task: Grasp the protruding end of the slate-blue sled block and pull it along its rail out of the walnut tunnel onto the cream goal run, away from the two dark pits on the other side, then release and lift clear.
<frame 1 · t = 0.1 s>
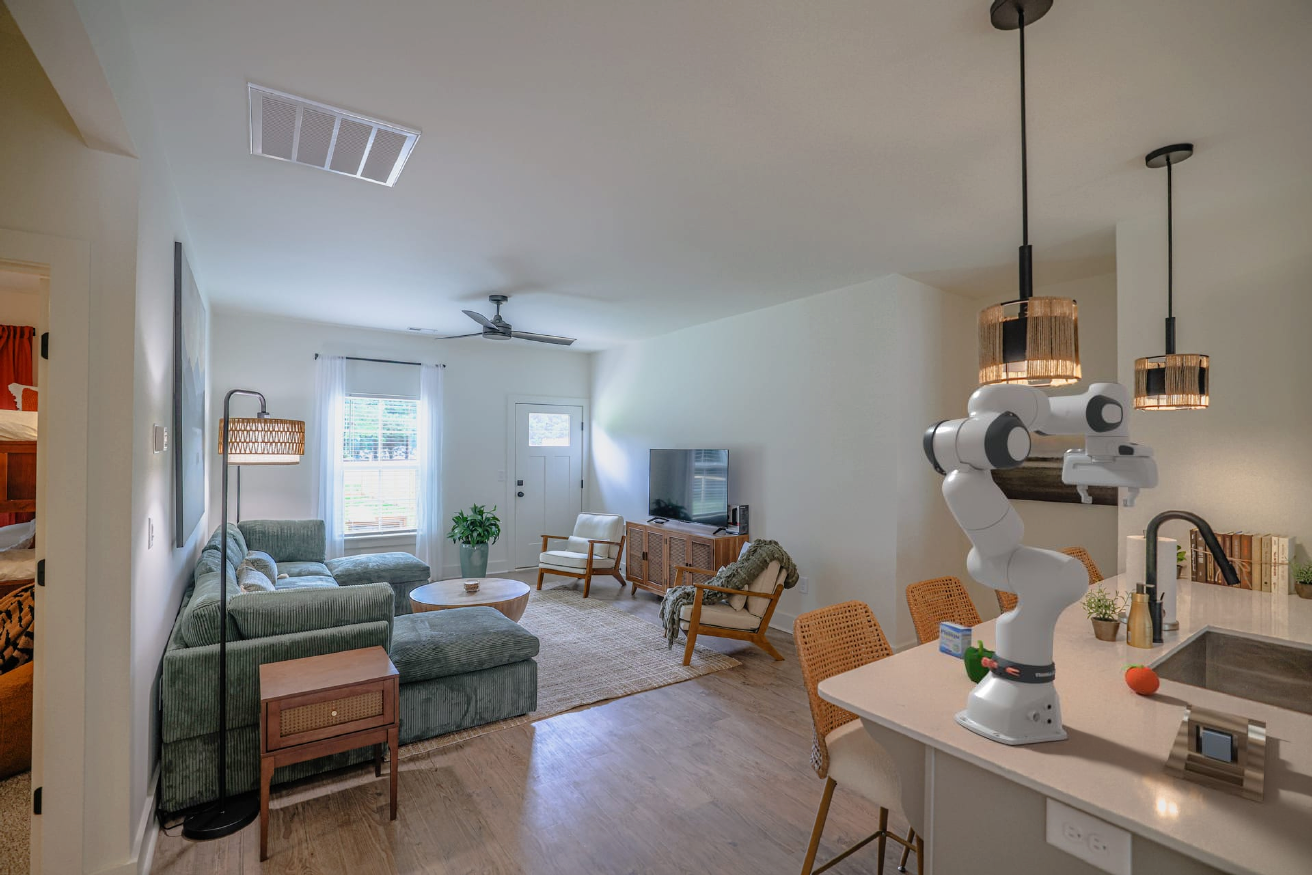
hand: (1107, 505, 150), 48 cm above the kitchen island, fingers open, 8 cm apart
bell pepper: (981, 681, 161), on the kitchen island
sled block: (1218, 733, 123), point 4 cm above the kitchen island, slide at 2.0 cm
medicine box: (955, 654, 183), on the kitchen island
tomato: (1139, 693, 155), on the kitchen island
tunnel deck: (1218, 757, 121), on the kitchen island
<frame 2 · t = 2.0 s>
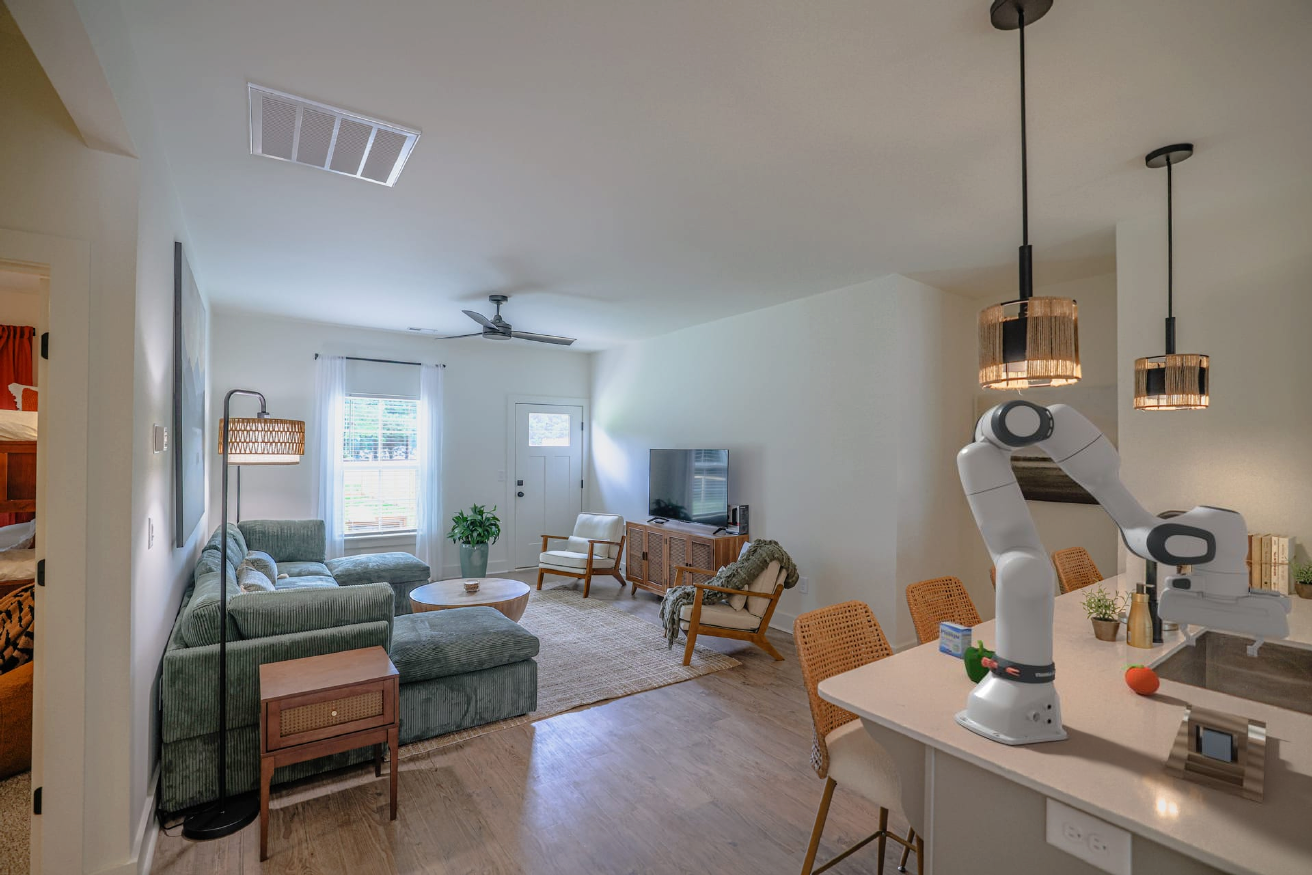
hand: (1220, 650, 128), 20 cm above the kitchen island, fingers open, 8 cm apart
nothing on the kitchen island moved.
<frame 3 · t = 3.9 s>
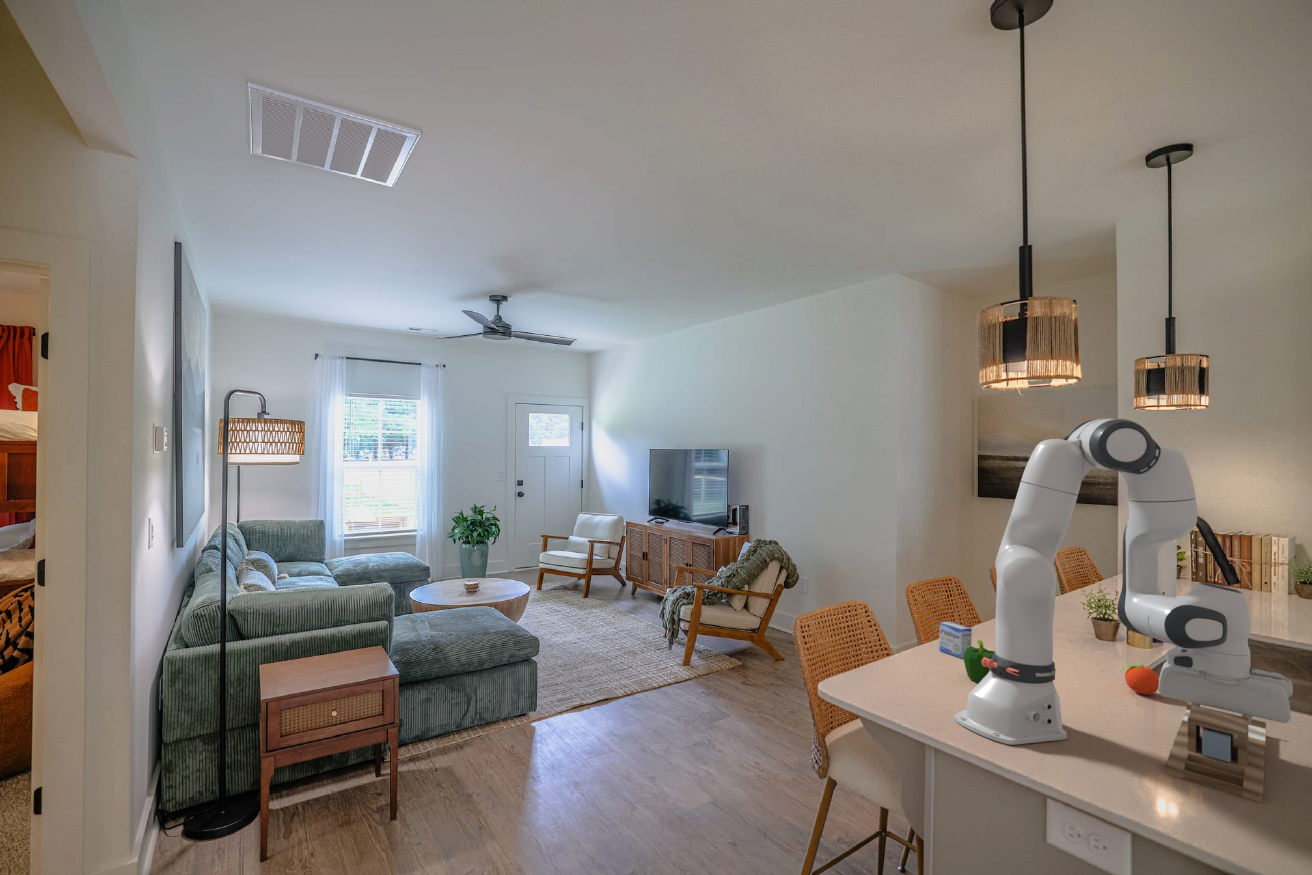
hand: (1220, 729, 127), 3 cm above the kitchen island, fingers closed on sled block, 4 cm apart
sled block: (1218, 733, 123), point 4 cm above the kitchen island, slide at 2.0 cm, touching gripper
everything else where it was.
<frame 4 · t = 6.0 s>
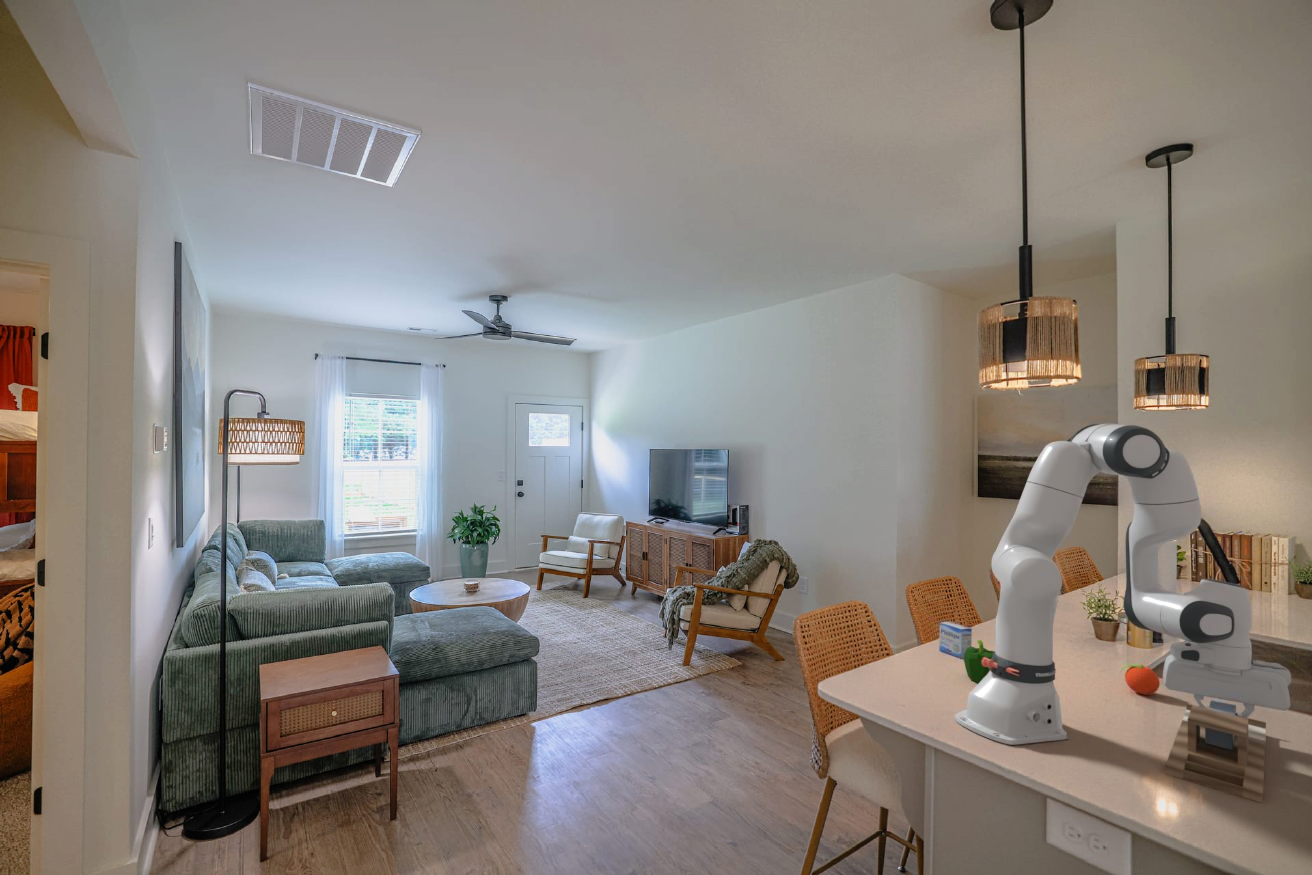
hand: (1223, 719, 132), 3 cm above the kitchen island, fingers closed on sled block, 4 cm apart
sled block: (1221, 723, 128), point 4 cm above the kitchen island, slide at 9.2 cm, touching gripper
everything else where it was.
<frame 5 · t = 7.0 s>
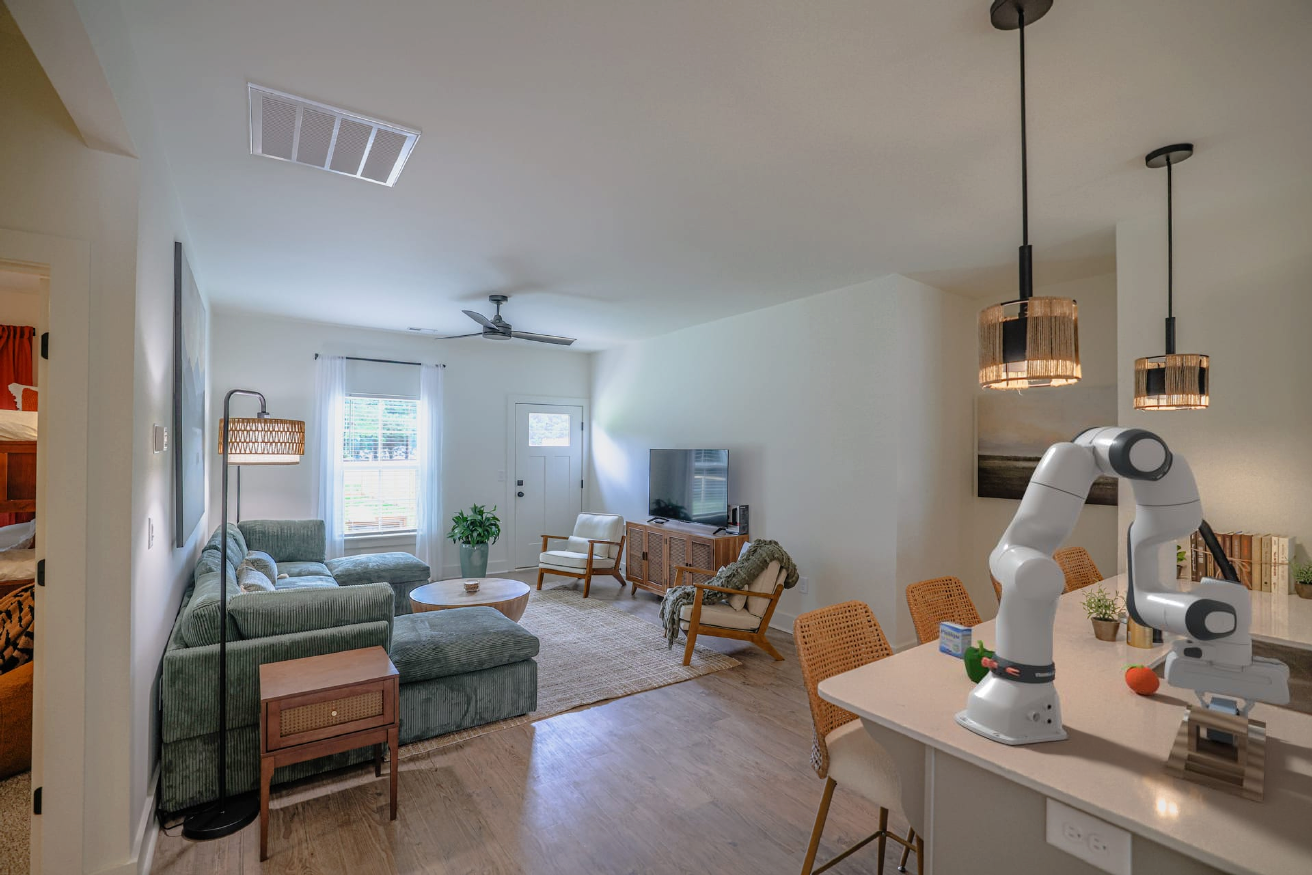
hand: (1223, 714, 135), 3 cm above the kitchen island, fingers closed on sled block, 5 cm apart
sled block: (1222, 718, 130), point 4 cm above the kitchen island, slide at 12.6 cm, touching gripper
everything else where it was.
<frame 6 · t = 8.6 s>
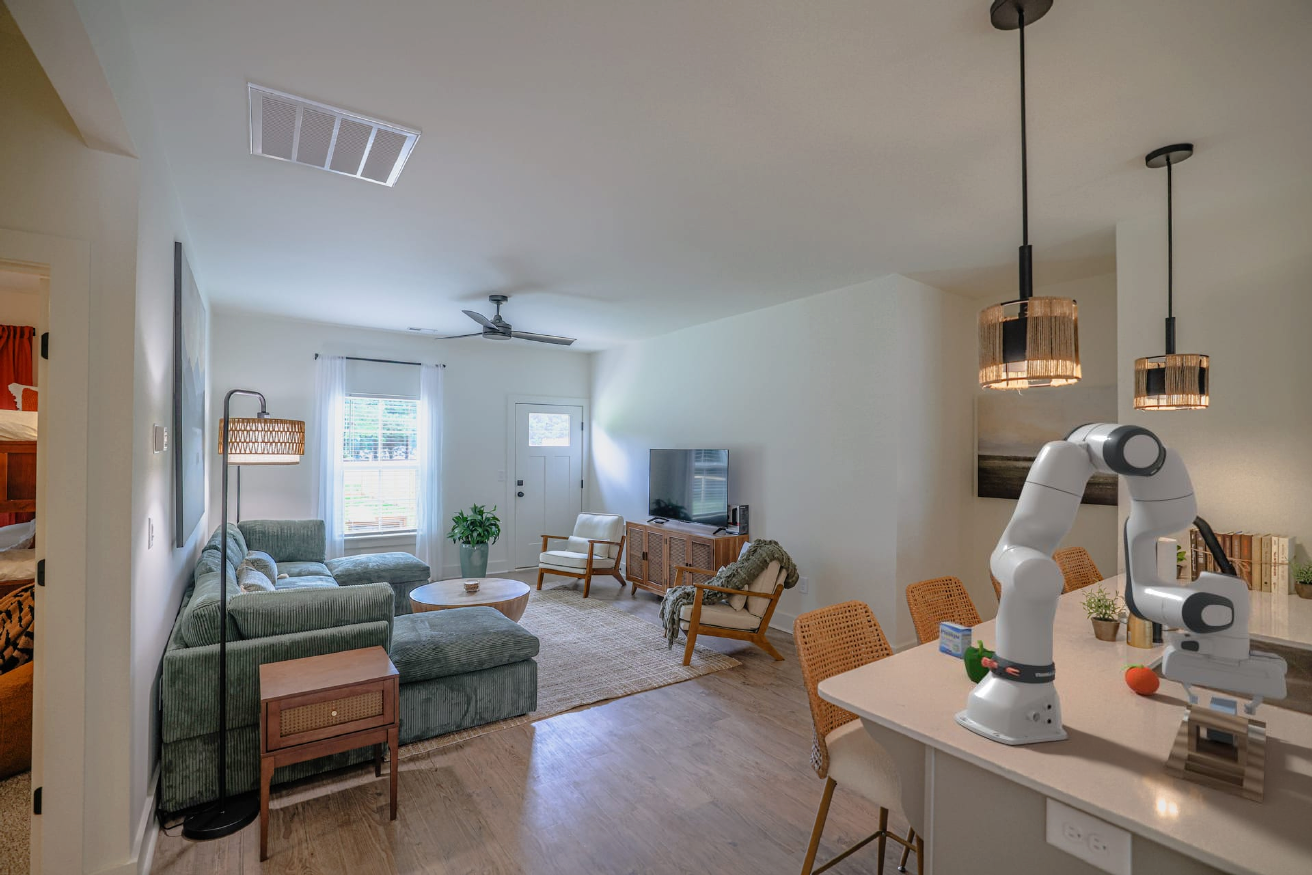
hand: (1220, 708, 135), 4 cm above the kitchen island, fingers open, 8 cm apart
sled block: (1222, 718, 130), point 4 cm above the kitchen island, slide at 12.6 cm
everything else where it was.
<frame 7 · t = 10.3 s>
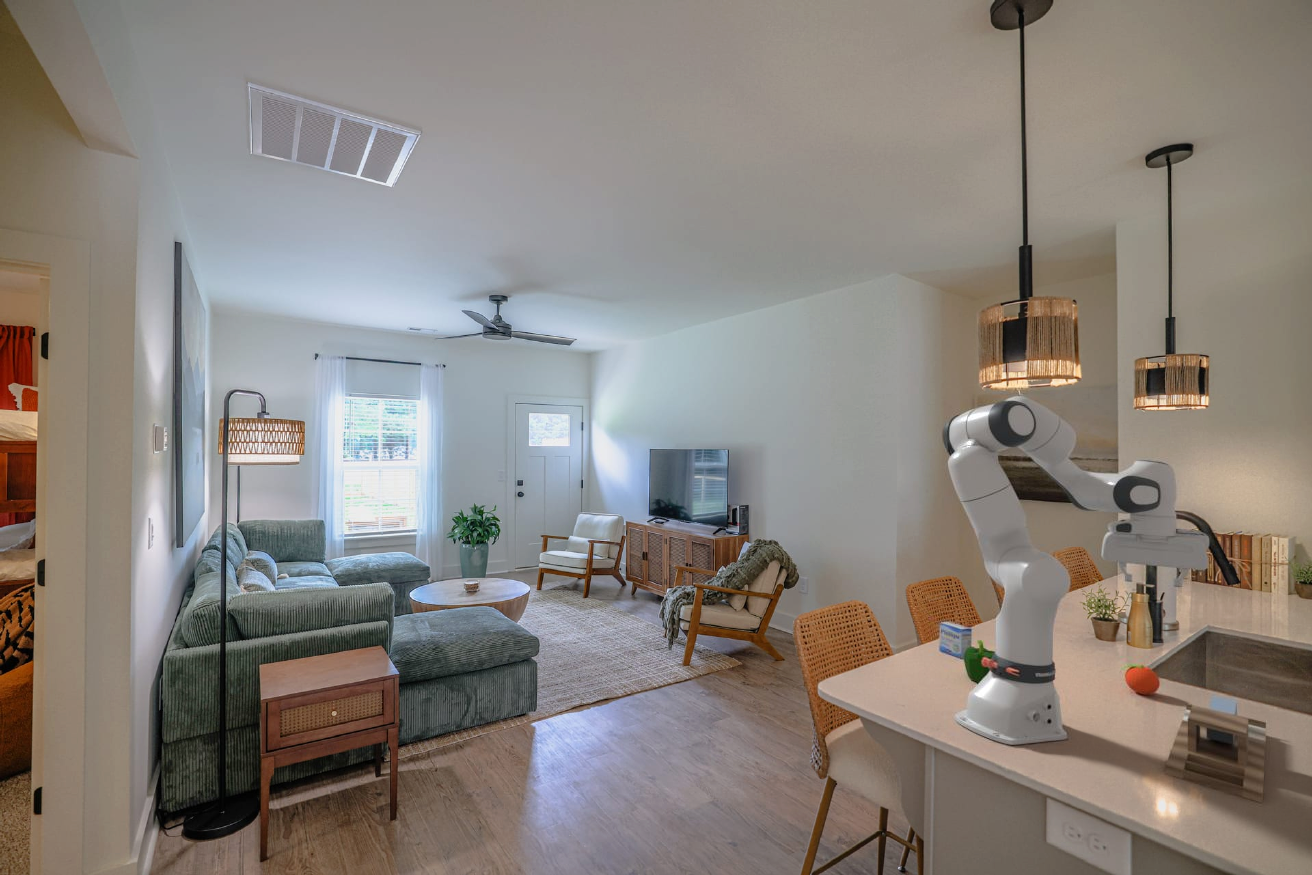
hand: (1152, 583, 149), 29 cm above the kitchen island, fingers open, 8 cm apart
nothing on the kitchen island moved.
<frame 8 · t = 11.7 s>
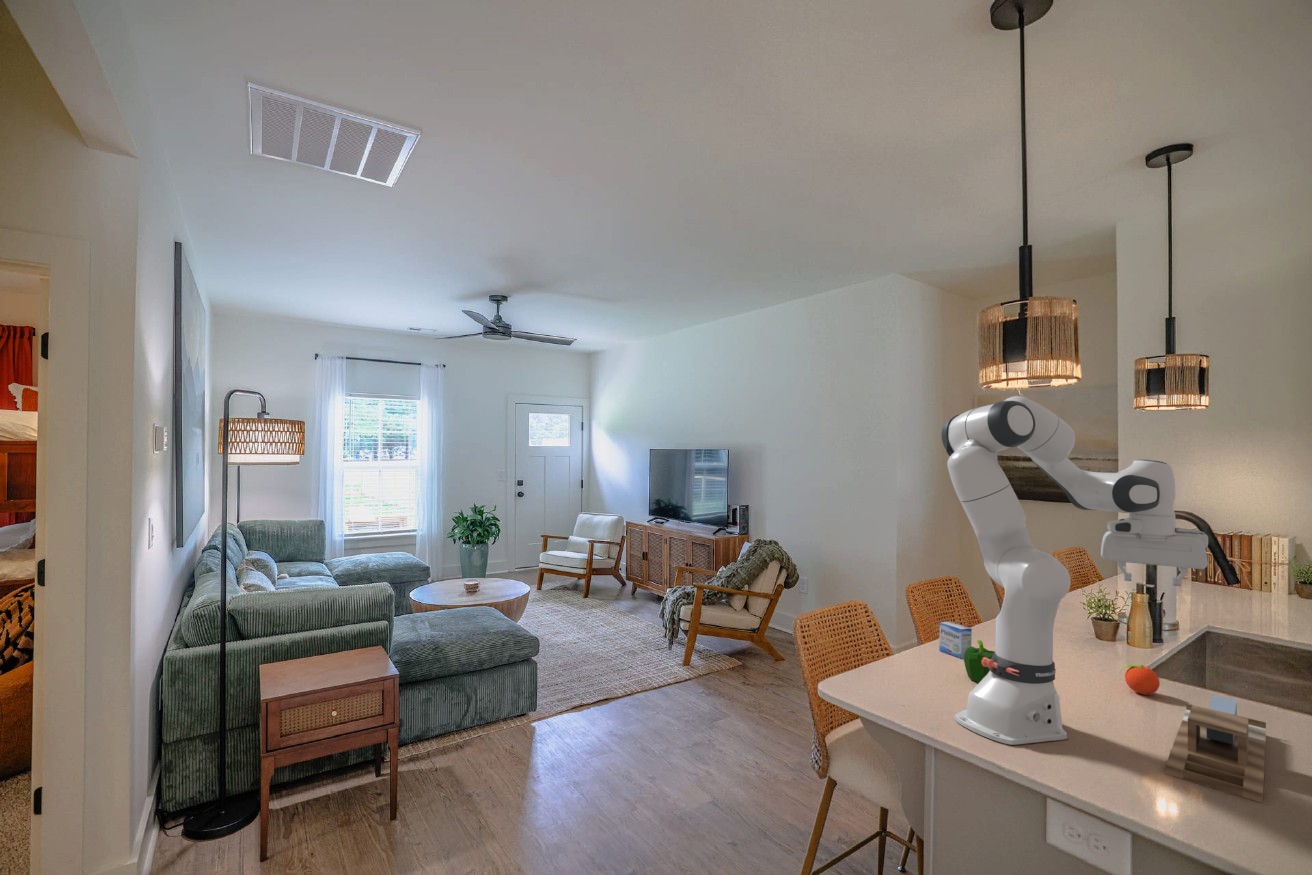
hand: (1151, 583, 149), 29 cm above the kitchen island, fingers open, 8 cm apart
nothing on the kitchen island moved.
at the end: sled block slide at 12.6 cm; the gripper is holding nothing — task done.
